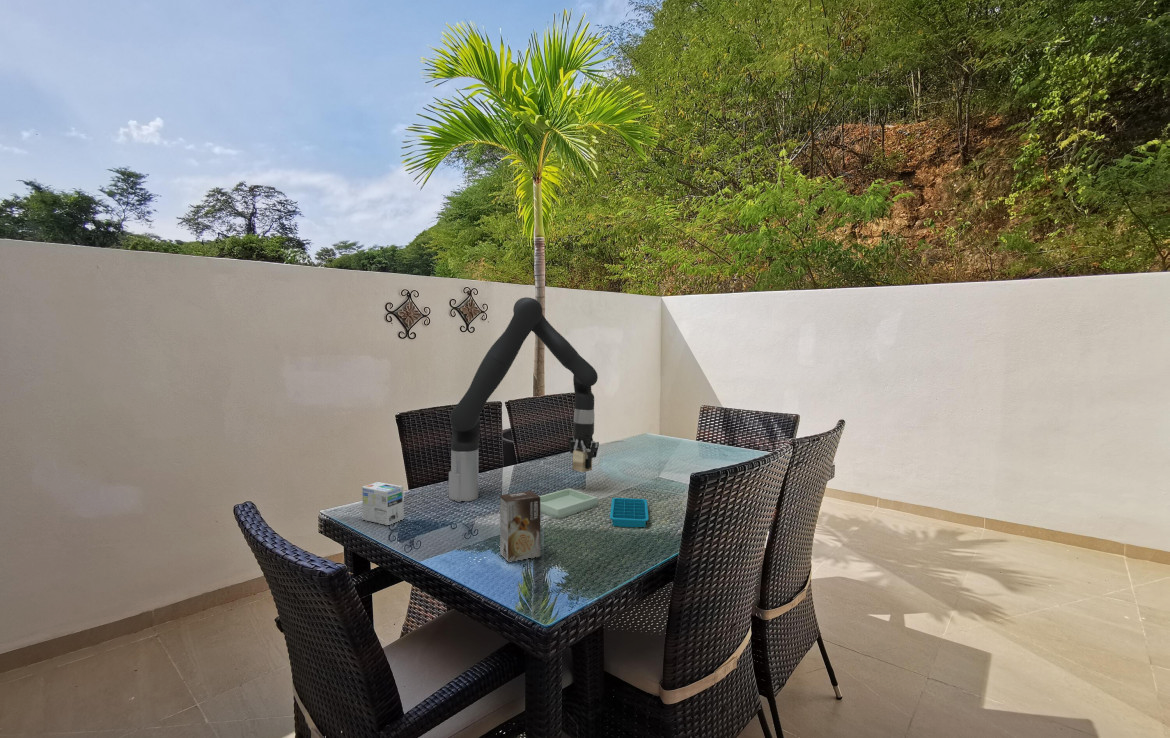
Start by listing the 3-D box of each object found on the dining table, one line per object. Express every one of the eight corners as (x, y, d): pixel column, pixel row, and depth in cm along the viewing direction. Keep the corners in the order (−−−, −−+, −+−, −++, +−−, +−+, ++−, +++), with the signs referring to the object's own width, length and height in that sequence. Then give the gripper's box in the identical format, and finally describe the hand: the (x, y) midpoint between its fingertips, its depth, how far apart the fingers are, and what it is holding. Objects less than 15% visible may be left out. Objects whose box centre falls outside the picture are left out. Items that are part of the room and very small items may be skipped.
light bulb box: (404, 519, 162) (404, 485, 161) (388, 527, 156) (387, 491, 155) (378, 514, 166) (378, 480, 165) (361, 521, 160) (361, 486, 159)
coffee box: (531, 548, 143) (532, 489, 141) (541, 557, 137) (541, 496, 136) (499, 554, 138) (499, 494, 137) (507, 564, 133) (507, 501, 132)
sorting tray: (557, 519, 164) (557, 509, 164) (529, 507, 174) (529, 499, 174) (597, 506, 177) (597, 497, 177) (568, 496, 187) (568, 488, 187)
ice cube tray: (646, 507, 178) (646, 499, 178) (648, 530, 158) (648, 520, 157) (612, 506, 179) (612, 497, 179) (609, 528, 159) (609, 518, 158)
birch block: (582, 472, 189) (582, 452, 189) (572, 469, 193) (573, 450, 192) (591, 470, 193) (592, 450, 192) (582, 467, 196) (582, 448, 196)
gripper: (563, 419, 194) (561, 464, 195) (590, 425, 184) (589, 473, 185) (577, 417, 199) (576, 461, 201) (605, 422, 189) (603, 469, 190)
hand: (582, 466), depth 193 cm, fingers closed on birch block, 5 cm apart
